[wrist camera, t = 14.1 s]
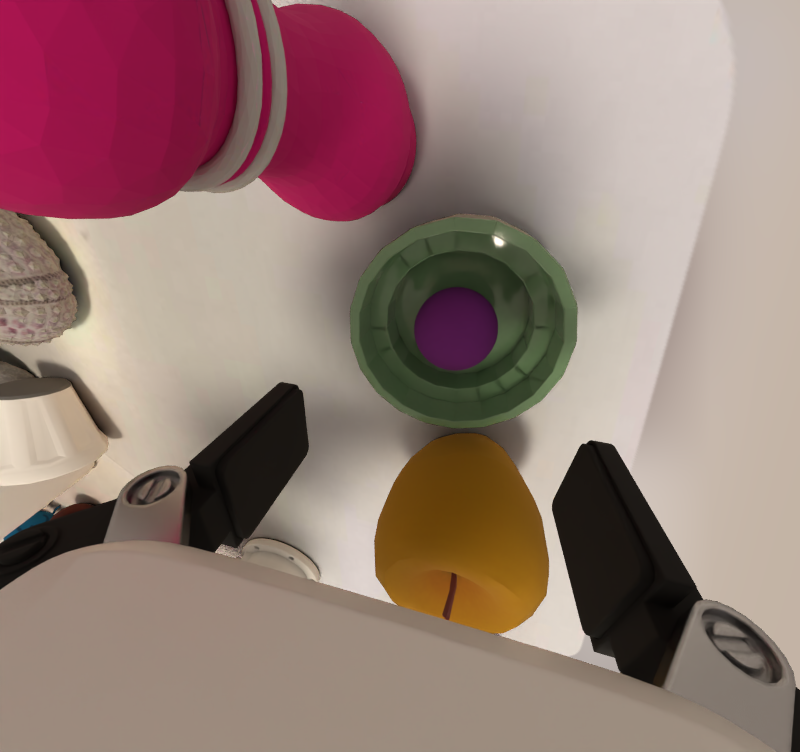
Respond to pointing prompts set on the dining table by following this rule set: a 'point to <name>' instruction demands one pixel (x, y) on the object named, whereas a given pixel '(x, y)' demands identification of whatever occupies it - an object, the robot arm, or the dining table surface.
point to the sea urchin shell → (31, 286)
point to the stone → (12, 373)
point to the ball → (456, 328)
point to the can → (32, 498)
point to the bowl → (507, 293)
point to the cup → (45, 431)
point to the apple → (463, 536)
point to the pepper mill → (196, 106)
